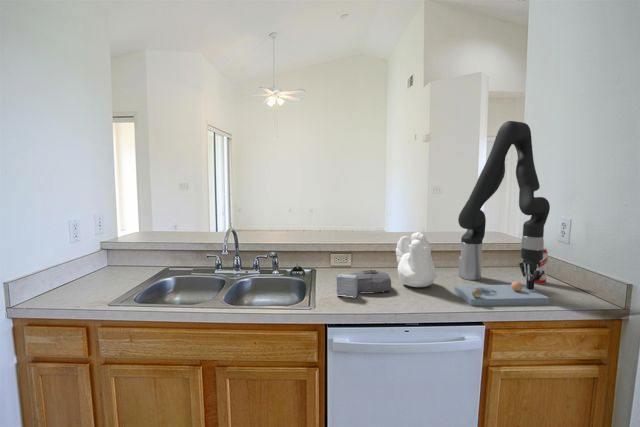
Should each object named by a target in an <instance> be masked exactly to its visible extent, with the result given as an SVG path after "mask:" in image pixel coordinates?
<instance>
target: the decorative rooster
mask: <svg viewBox="0 0 640 427" xmlns="http://www.w3.org/2000/svg"><path fill="white" fill-rule="evenodd" d="M395 255H396V262H397V263H398V265H397V272H398V277H399V280H400V282H401V284H403V285H406V286H408V287H413V288H425V287H426V288H427V287H428V286H431V285H432V284H433V283H434V282H435V280H436V279H437V278H438V274H437V270H436V269H435V265H434V261H433V259H432V248H431V244H430V241H429V240H428V239H427V237H426V236H425V235H424V234H423V233H422V232H420V231H417V232H413V233H412V234H411V236H410V237H409V236H408V235H404V236H401V237H400V238H399V240H398V241H397V243H396V248H395Z"/></svg>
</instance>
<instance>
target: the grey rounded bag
mask: <svg viewBox="0 0 640 427" xmlns="http://www.w3.org/2000/svg"><path fill="white" fill-rule="evenodd" d="M349 275H357V293H359V292H382V293H384V292H383V291H388V292H391V290H392V279H391V277H390V275H389V273H388V272H385V271H379V270H376V269H375V270H373V269H370V270H369V269H368V270H359V271H356V272H352V273H350V274H349Z"/></svg>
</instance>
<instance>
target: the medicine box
mask: <svg viewBox="0 0 640 427" xmlns="http://www.w3.org/2000/svg"><path fill="white" fill-rule="evenodd" d="M337 294H338V295H346V296H353V297H355V296H356V295H357V296H358V292H357V275H350V274H343V273H342V274H340V273H339V274H338V275H337V276H336V295H337ZM357 296H356V297H357Z"/></svg>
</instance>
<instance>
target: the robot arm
mask: <svg viewBox="0 0 640 427" xmlns="http://www.w3.org/2000/svg"><path fill="white" fill-rule="evenodd" d="M532 140H533V138H532V132H531V128H530V126H529V124H527V123H525V122H523V121H516V120H507V121H505V122H504V123H503V124H501V126H500V127H499V129H498V131H497V133H496V135H495V139H494V142H493V144H492V147H491V150H490V152H489V154H488V157H487V159H486V162H485V164H484V166H483V168H482V170H481V172H480V174H479V176H478V179H477V181H476V183H475V185H474V186H473V188H472V191H471V194H470V195H469V198H468V200H467V201H466V202H465V204H464V206H463V208H462V209H461V211H460V212H459V214H458V218H457V220H458V222H457V223H458V224H459V227H460V228H462V229H465V230H466V232H465V233H464V234H463V235H462V236H461V242H460V244H461V245H460V256H459V258H458V276H459V277H460V278H461V279H464V280H469V281H479V280H481V279H482V262H483V260H482V259H483V240H484V238H485V234H486V223H487V221H486V220H487V219H486V215H485V214H486V213H485V212H484V211H483V210H481V209H482V207H483V206H484V204H485V203H486V202H487V201H488V200H489V199H490V198H491V197H493V195H494V194H495V193H497V191H498V190H499V188H500V186H501V184H502V182H503V180H504V178H505V174H506V157H507V155H508V152H509V150H510V148H511V146H513V145H514V147H515V150H516V153H517V162H516V167H515V176H516V177H515V178H516V180H517V184H518V185H517V186H518V190H519V192H518V193H519V195H518V207H519V210H520V211H521V213H522V214H524V215H526V216H530V219H528V220H526V221H524V223H523V225H522V238H521V247H520V249H521V250H520V257H521V259H522V262H519V268H520V270H521V273H522V277H524V278H525V280H526V284H525V285H526V288H527V289H529V290H533V289H534V290H535V283H534V281H538V280H539V279H540V278H541V277H542V275H543V274H544V271H543V270H541V269H540V261H541V260H542V259H543V249H544V248H545V245H544V244H545V241H544V236H545V235H544V234H545V225H546V222H547V220H548V217H549V214H550V210H551V206H550V202H549V200H548V199H547V198H546V197H543V196H535V192H536V191H538V190H540V188H541V186H540V181H539V178H538V174H537V170H536V166H535V161H534V152H533V142H532Z"/></svg>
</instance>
